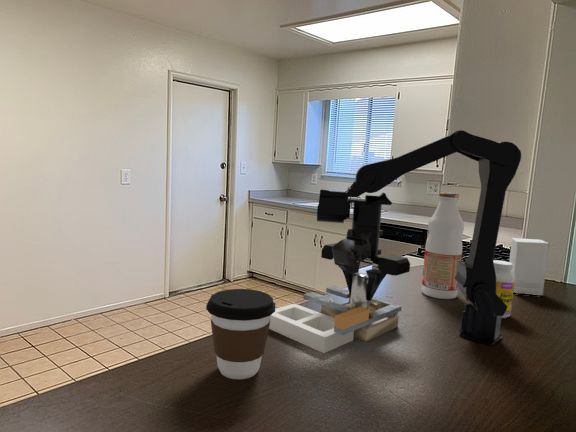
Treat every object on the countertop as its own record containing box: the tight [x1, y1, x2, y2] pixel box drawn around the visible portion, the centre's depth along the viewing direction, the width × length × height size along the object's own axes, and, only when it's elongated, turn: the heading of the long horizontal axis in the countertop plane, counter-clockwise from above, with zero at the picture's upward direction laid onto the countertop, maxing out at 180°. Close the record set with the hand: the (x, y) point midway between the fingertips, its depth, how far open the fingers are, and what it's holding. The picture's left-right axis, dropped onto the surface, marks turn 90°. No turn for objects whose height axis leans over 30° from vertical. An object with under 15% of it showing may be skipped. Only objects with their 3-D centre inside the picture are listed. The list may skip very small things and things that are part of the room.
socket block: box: [319, 298, 399, 342], centre depth 90 cm, size 12×12×4 cm
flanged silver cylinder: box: [344, 271, 376, 313], centre depth 90 cm, size 7×7×11 cm
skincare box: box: [508, 237, 550, 296], centre depth 122 cm, size 8×7×16 cm
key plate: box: [302, 285, 403, 335], centre depth 88 cm, size 18×20×3 cm
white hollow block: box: [269, 303, 354, 354], centre depth 84 cm, size 16×9×3 cm, turn 46°
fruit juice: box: [421, 191, 465, 300], centre depth 115 cm, size 9×9×28 cm
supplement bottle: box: [493, 259, 515, 319], centre depth 102 cm, size 7×7×13 cm
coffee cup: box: [205, 288, 276, 380], centre depth 67 cm, size 11×11×12 cm
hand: (360, 297), depth 90 cm, fingers closed on flanged silver cylinder, 4 cm apart
